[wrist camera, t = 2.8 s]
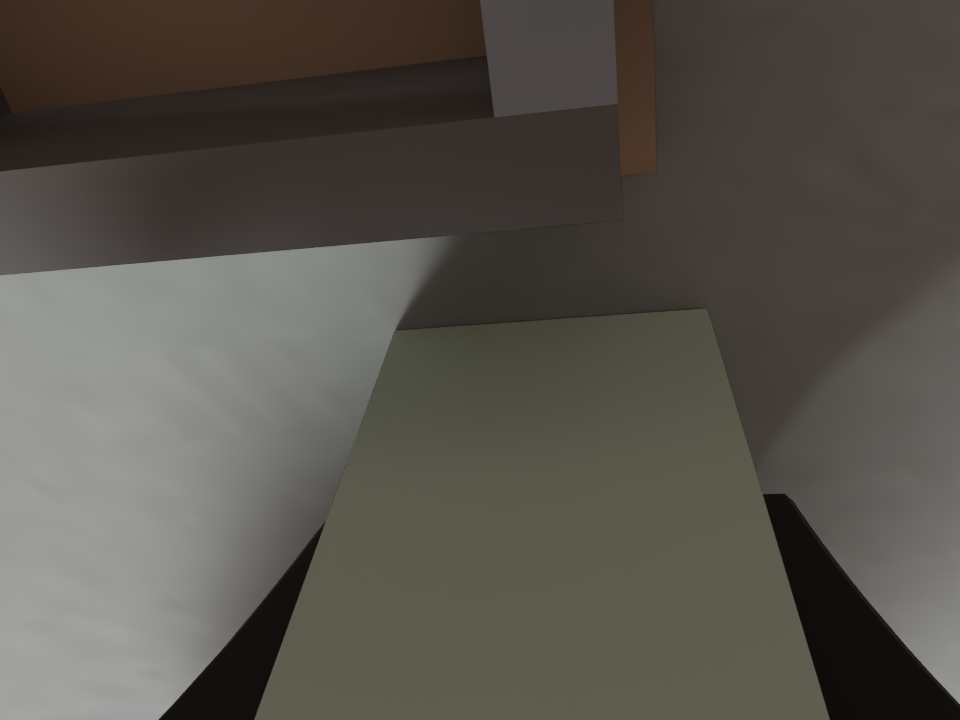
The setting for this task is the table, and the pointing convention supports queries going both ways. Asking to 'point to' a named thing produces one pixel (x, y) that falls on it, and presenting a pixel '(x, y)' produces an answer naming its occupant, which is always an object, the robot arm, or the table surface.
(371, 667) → the peg
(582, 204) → the grey square socket
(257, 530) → the table surface
